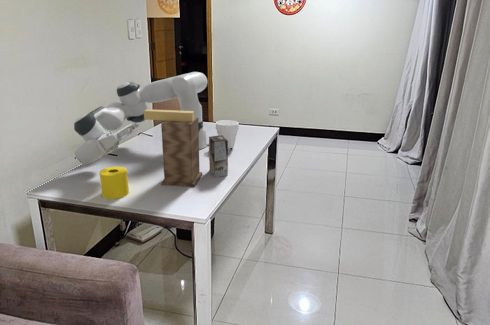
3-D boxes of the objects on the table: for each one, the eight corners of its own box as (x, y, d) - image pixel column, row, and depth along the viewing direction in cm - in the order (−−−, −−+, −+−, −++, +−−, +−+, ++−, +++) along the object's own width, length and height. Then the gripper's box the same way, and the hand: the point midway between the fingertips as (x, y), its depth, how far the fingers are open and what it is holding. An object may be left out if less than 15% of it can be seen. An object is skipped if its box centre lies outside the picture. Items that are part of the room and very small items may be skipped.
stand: (161, 184, 166) (157, 123, 157) (171, 172, 179) (168, 115, 171) (194, 186, 164) (192, 124, 156) (202, 174, 178) (201, 116, 169)
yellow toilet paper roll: (113, 187, 163) (111, 165, 160) (134, 190, 160) (132, 168, 157) (96, 196, 154) (93, 173, 151) (117, 200, 151) (115, 177, 148)
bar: (144, 119, 163) (143, 111, 162) (147, 117, 167) (146, 109, 165) (192, 121, 161) (192, 113, 160) (194, 119, 164) (194, 111, 163)
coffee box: (228, 175, 177) (228, 140, 172) (214, 177, 175) (214, 141, 170) (222, 168, 185) (222, 135, 180) (208, 170, 183) (208, 136, 178)
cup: (239, 144, 222) (240, 120, 217) (237, 151, 210) (237, 125, 206) (217, 143, 223) (217, 119, 218) (213, 150, 211) (213, 125, 207)
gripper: (122, 141, 181) (146, 127, 177) (101, 155, 161) (128, 140, 158) (114, 129, 179) (139, 115, 176) (92, 142, 160) (119, 126, 156)
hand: (133, 127), depth 167 cm, fingers open, 8 cm apart
